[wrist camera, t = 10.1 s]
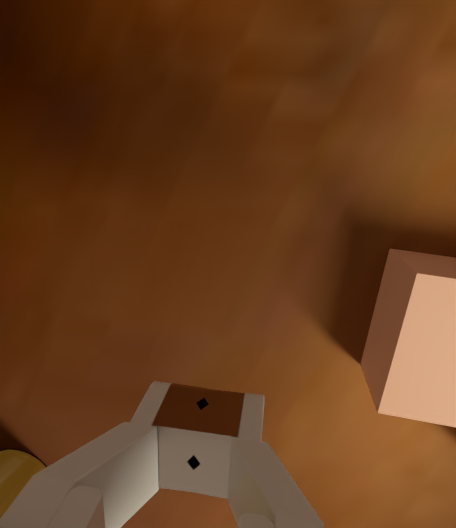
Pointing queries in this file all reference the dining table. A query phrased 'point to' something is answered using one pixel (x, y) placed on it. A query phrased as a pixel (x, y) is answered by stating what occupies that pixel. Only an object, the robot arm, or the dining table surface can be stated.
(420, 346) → the peach block
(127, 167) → the dining table surface
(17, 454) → the plant pot
